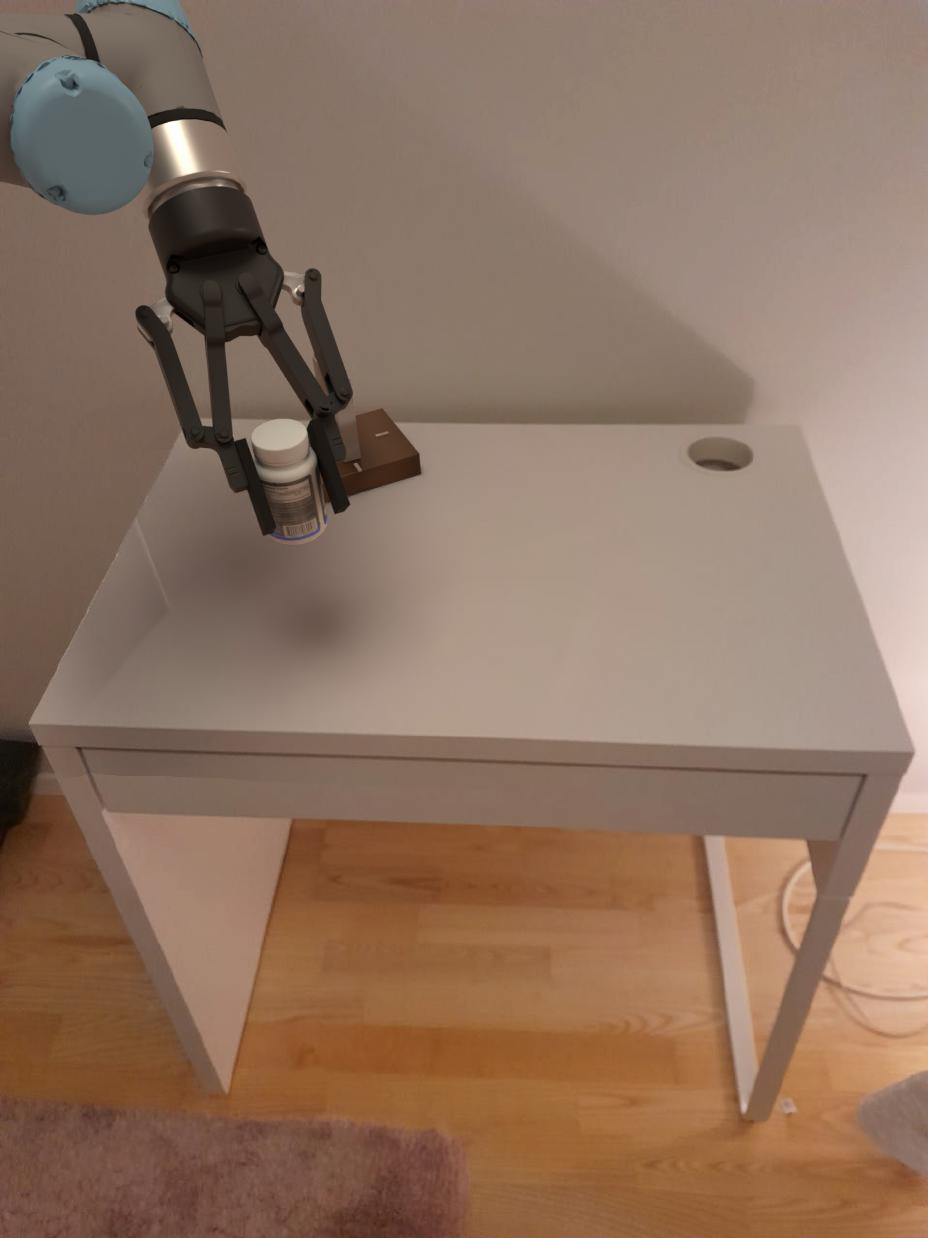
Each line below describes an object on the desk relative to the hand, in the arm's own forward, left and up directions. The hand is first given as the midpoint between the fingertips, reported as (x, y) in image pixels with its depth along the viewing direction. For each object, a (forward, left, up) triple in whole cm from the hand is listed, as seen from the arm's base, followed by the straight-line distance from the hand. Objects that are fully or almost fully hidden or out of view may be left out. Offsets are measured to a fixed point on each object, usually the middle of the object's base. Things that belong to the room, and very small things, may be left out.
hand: (306, 519), depth 67 cm
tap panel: (+11, +27, -15) cm, 32 cm away
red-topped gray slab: (+11, +27, -13) cm, 31 cm away
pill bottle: (0, +4, -3) cm, 5 cm away
